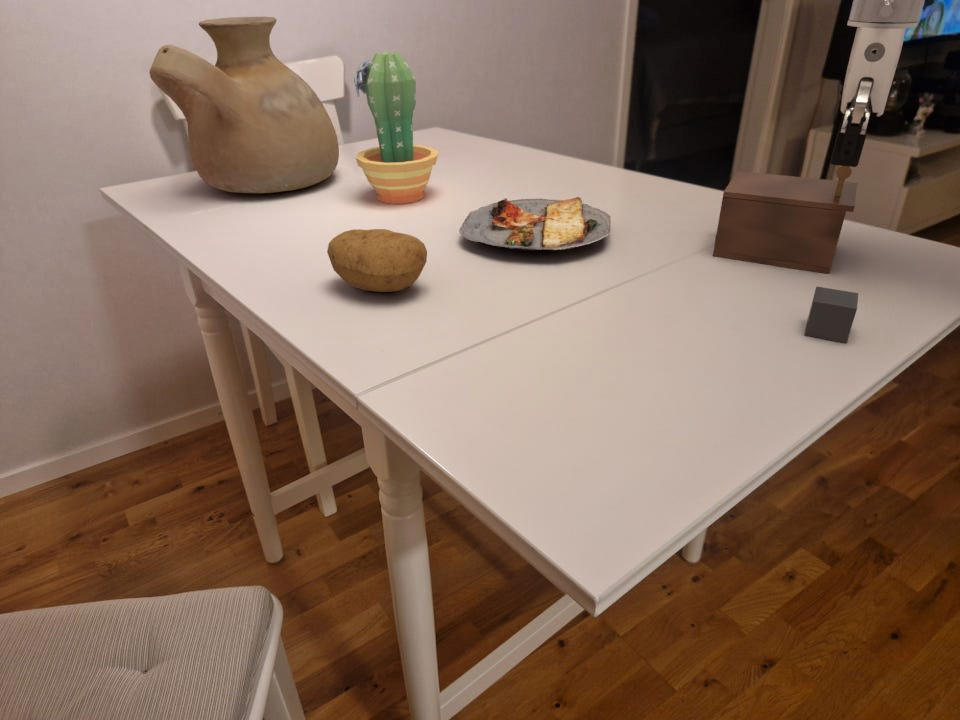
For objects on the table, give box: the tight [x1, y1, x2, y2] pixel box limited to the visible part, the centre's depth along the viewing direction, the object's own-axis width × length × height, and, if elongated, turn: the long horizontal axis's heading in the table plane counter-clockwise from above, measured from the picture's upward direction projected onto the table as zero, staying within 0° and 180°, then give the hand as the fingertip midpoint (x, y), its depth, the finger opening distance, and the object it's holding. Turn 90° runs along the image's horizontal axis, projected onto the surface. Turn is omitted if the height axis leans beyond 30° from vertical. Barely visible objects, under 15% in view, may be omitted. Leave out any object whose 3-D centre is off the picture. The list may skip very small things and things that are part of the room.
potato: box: [326, 228, 428, 293], centre depth 87 cm, size 10×14×8 cm
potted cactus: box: [353, 51, 439, 205], centre depth 119 cm, size 15×15×25 cm
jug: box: [148, 16, 340, 194], centre depth 126 cm, size 29×34×30 cm
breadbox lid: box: [722, 165, 858, 213], centre depth 92 cm, size 16×12×5 cm
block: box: [804, 286, 859, 344], centre depth 75 cm, size 4×4×4 cm
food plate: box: [458, 196, 612, 252], centre depth 105 cm, size 25×23×4 cm
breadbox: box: [712, 196, 847, 275], centre depth 96 cm, size 16×12×9 cm
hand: (845, 156), depth 88 cm, fingers open, 9 cm apart
